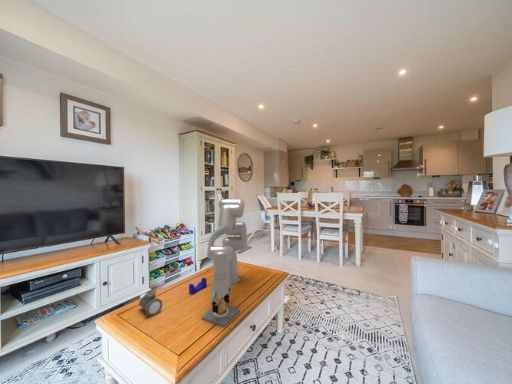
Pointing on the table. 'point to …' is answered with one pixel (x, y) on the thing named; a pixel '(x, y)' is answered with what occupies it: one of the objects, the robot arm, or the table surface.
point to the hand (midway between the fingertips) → (221, 307)
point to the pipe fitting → (151, 303)
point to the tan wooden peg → (221, 306)
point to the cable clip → (198, 286)
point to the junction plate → (221, 316)
